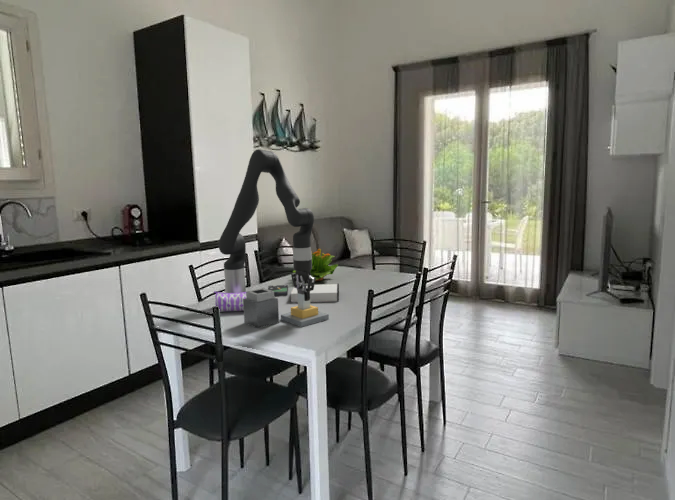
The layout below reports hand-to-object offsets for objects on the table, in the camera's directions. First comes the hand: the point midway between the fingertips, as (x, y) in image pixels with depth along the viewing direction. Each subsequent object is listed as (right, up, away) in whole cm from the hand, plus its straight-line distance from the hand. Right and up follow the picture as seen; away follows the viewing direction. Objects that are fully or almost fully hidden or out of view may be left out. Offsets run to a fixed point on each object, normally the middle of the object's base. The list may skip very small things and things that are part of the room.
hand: (304, 299), depth 185 cm
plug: (0, -5, +1) cm, 5 cm away
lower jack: (0, -8, +1) cm, 8 cm away
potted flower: (0, +3, +77) cm, 77 cm away
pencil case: (-29, -7, +17) cm, 35 cm away
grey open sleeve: (-17, -9, -2) cm, 19 cm away
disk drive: (-17, -2, +48) cm, 51 cm away
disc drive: (+3, -4, +37) cm, 37 cm away
